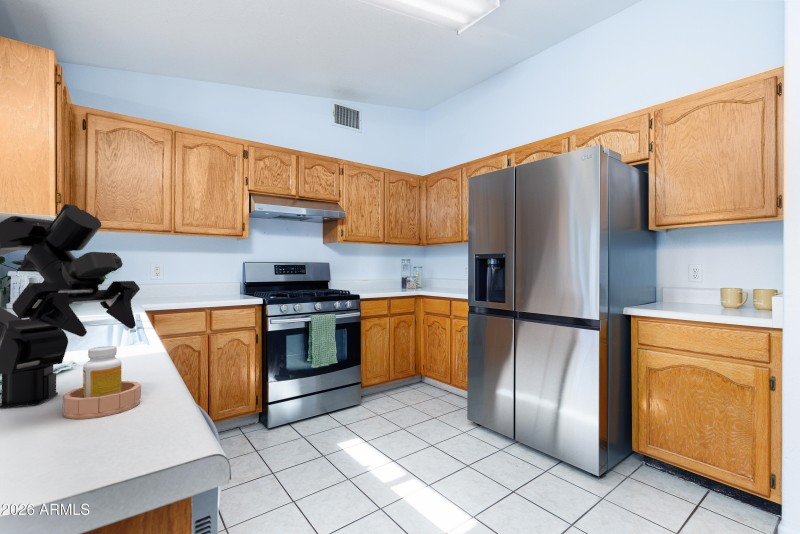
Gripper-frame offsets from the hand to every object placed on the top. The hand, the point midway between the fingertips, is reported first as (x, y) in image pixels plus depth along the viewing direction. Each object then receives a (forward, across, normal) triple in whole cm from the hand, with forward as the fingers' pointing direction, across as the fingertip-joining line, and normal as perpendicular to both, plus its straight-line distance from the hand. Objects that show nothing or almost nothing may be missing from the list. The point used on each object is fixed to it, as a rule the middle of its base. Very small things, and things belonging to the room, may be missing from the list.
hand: (110, 330), depth 68 cm
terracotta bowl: (+8, 0, +11) cm, 14 cm away
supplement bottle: (+8, 0, +10) cm, 13 cm away
